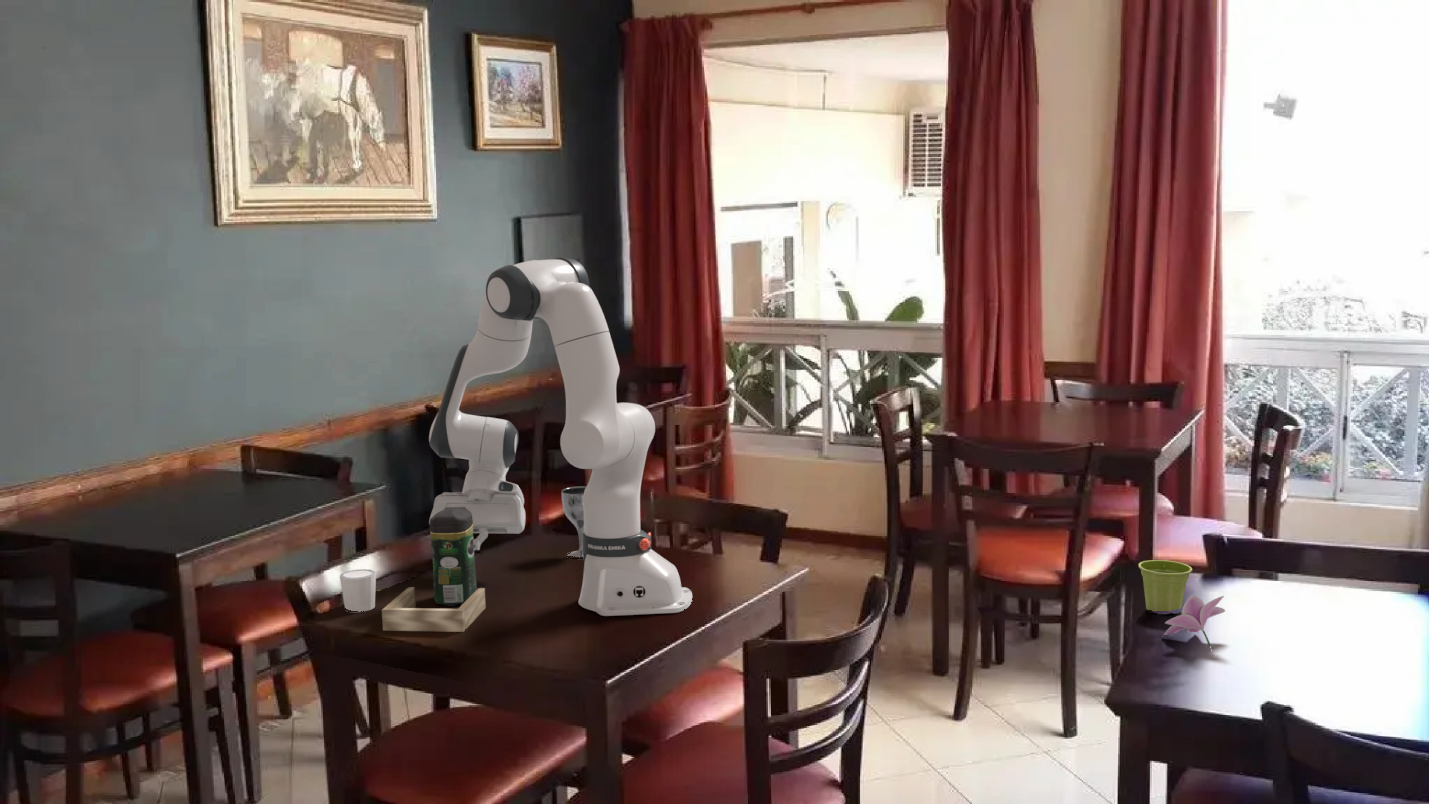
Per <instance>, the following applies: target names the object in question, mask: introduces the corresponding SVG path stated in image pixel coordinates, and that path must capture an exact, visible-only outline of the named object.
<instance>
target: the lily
mask: <svg viewBox="0 0 1429 804" xmlns="http://www.w3.org/2000/svg"><path fill="white" fill-rule="evenodd" d="M1223 598H1225V596H1224V595H1221V596H1219V597H1217V598H1214V599H1212V600H1211V601H1208V602H1206V603H1204V601H1203V600H1202V599H1201V598H1200V597H1198V596H1197V595H1195V594H1192V595H1190V596H1189V597H1188V598H1187V599H1186V601H1185V602H1184V605H1182V608H1181V614H1178V615H1176V616H1175V617H1172V618H1170V619H1168V620H1166V621H1165V622H1164V624H1166V625H1171V626H1169V627H1168V629H1167V630H1166V631H1165V632H1164V634H1163V635H1168V634H1172V633H1175V634H1176V633H1179V632H1181V631H1185V630H1186V631H1187V633H1189V632H1198V631H1199V632H1200V631H1201V632H1202V633H1203V636H1204V637H1205V640H1206V642H1207V645H1208V647H1209V646H1211V643H1210V640H1209V638H1208V636H1207V634H1206V632H1205V629H1204V628H1205V627H1206V626H1205V625H1206V623H1207V621H1208V619H1210V618H1213V617H1215V616H1218V615H1221V614H1223V613H1225V612H1226V610H1225V608H1223V607H1219V606H1217V605H1218V604H1219V603H1220V601H1222V599H1223ZM1199 632H1198V633H1199ZM1211 647H1212V646H1211Z"/></svg>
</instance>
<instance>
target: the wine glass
mask: <svg viewBox="0 0 1429 804" xmlns="http://www.w3.org/2000/svg"><path fill="white" fill-rule="evenodd" d="M586 487H587V485H586V486H585V485H584V486H580V485H579V486H571V487H567V488H564V489H562V490H561V502H562V503H561V504H562V508H563V511H564V514H565V516H566V518H567V519H568V520H569V521H570V522H571V524H573V525H574V527H575V528H576V531H577V534H578V540H579V548H578V550H574V551H571V553H570V552H569V553H570V554H568V553H567V554H568V555H567V556H573V557H574V556H575V557H579V558H580V557H583V556H582V534H583V533H584V508H583V495H584V491H585V489H586Z"/></svg>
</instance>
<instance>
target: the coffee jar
mask: <svg viewBox="0 0 1429 804" xmlns="http://www.w3.org/2000/svg"><path fill="white" fill-rule="evenodd" d="M429 519H430V518H429ZM429 533H430V535H429V536H430V541H431V542H430V543H431V554H432V557H431V558H432V568H433V569H432V573H433V574H432V575H433V577H432V578H433V600H434V602H435V603H436V604H438V605H442V606H447V607H448V606H449V607H450V606H451V607H452V606H458V605H462V604H463V603H464V602H465V601H466V600H467V599H468V598H469V597H470V596H471V595H472V594H473V593H474V592H475V591H476V590H477V589H478V585H477V574H476V561H475V550H474V544H473V539H474V533H473V520H472V513H471V512H470V511H469V510H468V509H466V508H465V507H446V508H445V509H444V510H442V511H440V512H438V513H437V514H435V515H434V516H433V517H432V518H431V519H430V524H429Z"/></svg>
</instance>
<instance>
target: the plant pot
mask: <svg viewBox="0 0 1429 804" xmlns="http://www.w3.org/2000/svg"><path fill="white" fill-rule="evenodd" d="M1138 568H1139V569H1140V573H1141V576H1142V580H1143V581H1142V582H1143V590H1144V591H1143V592H1144V599H1145V600H1144V601H1145V607H1146V609H1145V610H1147V611H1149V610H1152V611H1172V610H1176V609H1180V608H1181V607H1182V608H1183V601H1184V596H1185V592H1186V587H1187V583H1188V579H1189V577H1190V574H1191V572H1193V568H1192V567H1191V566H1190V565H1188V564H1185V563H1183V562H1178V561H1173V560H1167V559H1166V560H1165V559H1164V560H1161V559H1152V560H1151V559H1150V560H1143V561H1141V562H1139V563H1138ZM1182 608H1181V609H1182Z"/></svg>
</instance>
